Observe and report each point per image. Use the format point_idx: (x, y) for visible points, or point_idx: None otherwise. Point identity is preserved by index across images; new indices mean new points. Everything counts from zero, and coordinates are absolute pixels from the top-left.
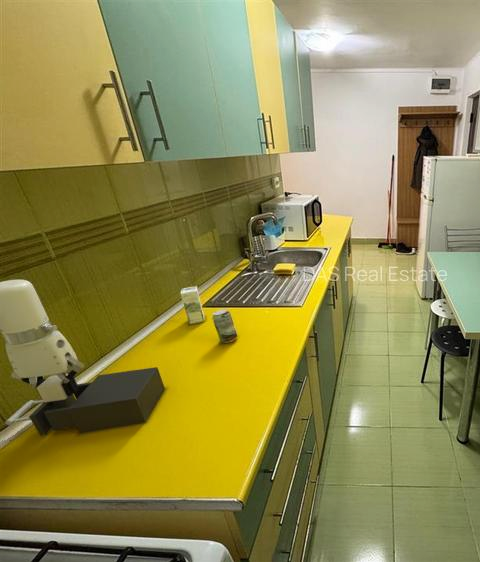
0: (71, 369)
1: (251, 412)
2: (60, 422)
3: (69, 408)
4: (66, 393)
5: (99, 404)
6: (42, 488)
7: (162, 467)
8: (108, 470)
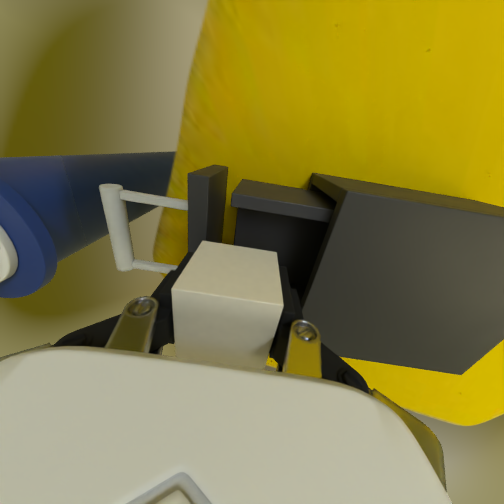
0: (320, 372)
1: None
2: None
3: None
4: None
5: (367, 360)
6: (267, 359)
7: (409, 383)
8: None
